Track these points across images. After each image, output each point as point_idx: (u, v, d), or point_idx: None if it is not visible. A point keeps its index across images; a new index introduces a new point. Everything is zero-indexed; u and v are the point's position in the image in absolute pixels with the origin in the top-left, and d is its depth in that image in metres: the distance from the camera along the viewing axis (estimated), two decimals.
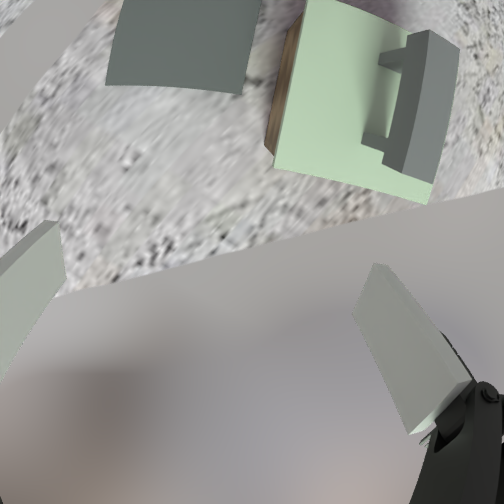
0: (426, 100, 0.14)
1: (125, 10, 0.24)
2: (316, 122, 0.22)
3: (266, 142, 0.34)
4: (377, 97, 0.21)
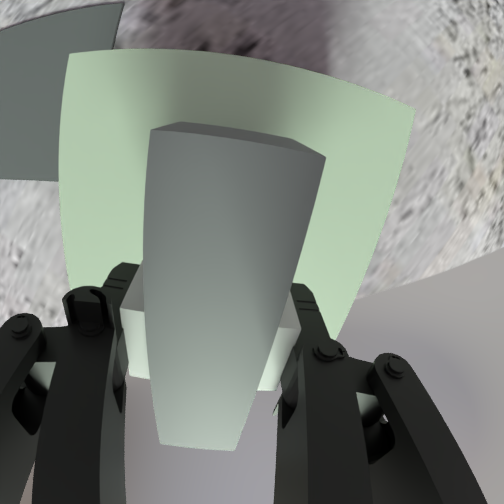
0: (171, 365, 0.07)
1: None
2: None
3: None
4: None
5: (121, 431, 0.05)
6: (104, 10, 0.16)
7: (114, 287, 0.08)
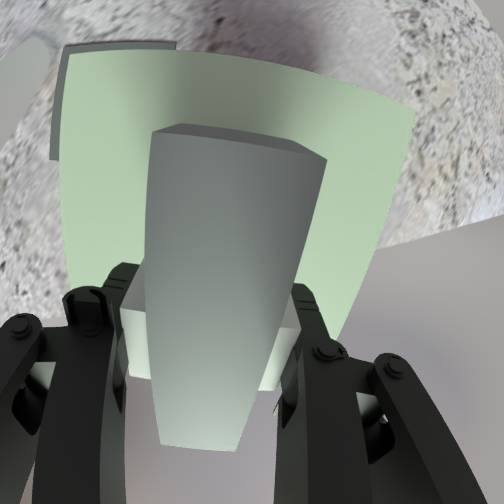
0: (172, 366, 0.07)
1: (58, 89, 0.30)
2: None
3: None
4: None
5: (121, 431, 0.05)
6: (162, 46, 0.30)
7: (114, 287, 0.08)
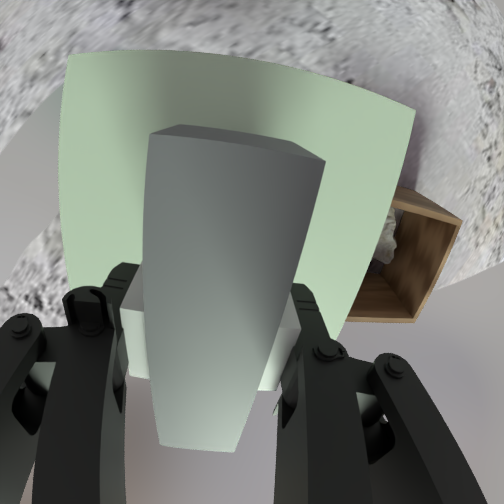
0: (171, 368, 0.07)
1: None
2: None
3: None
4: None
5: (121, 431, 0.05)
6: None
7: (114, 287, 0.08)
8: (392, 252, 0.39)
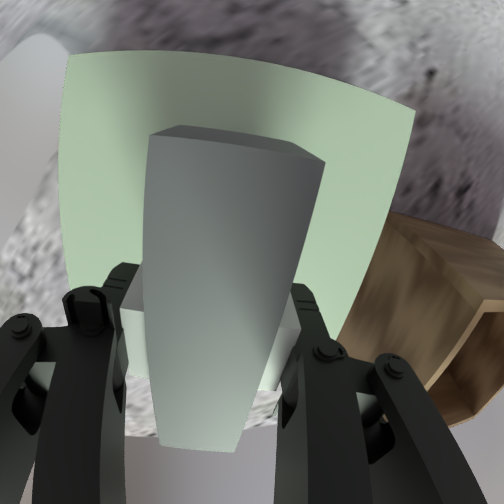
0: (172, 368, 0.07)
1: None
2: None
3: None
4: None
5: (121, 431, 0.05)
6: None
7: (114, 287, 0.08)
8: None
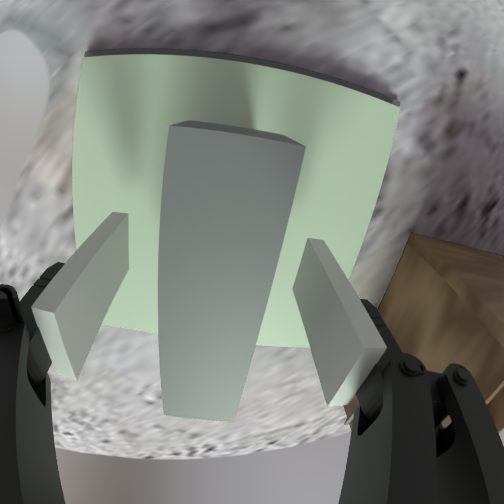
0: (178, 327, 0.08)
1: None
2: None
3: None
4: None
5: (47, 423, 0.05)
6: None
7: (43, 287, 0.07)
8: None
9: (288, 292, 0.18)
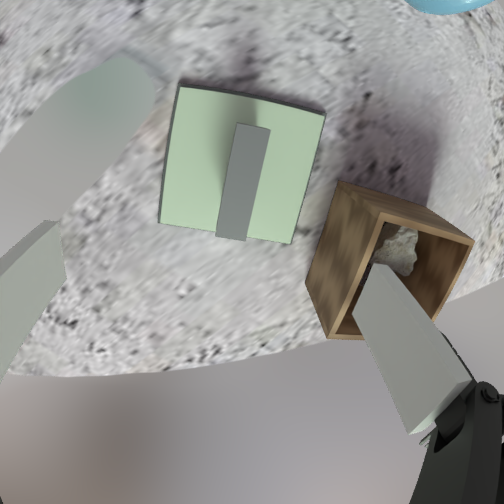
0: (232, 183, 0.26)
1: None
2: (186, 190, 0.34)
3: (308, 287, 0.41)
4: None
5: None
6: None
7: None
8: (412, 265, 0.38)
9: (271, 205, 0.36)
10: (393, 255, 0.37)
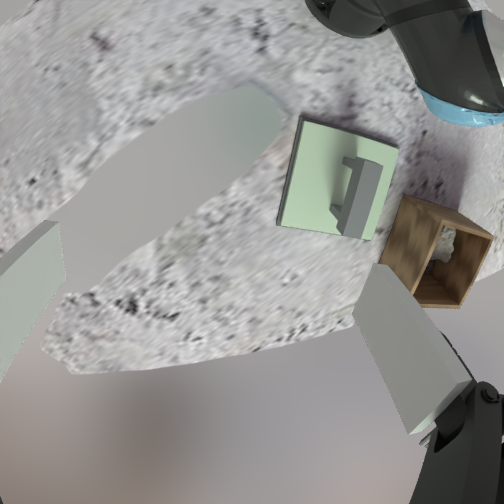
0: (357, 200, 0.37)
1: None
2: (304, 200, 0.45)
3: None
4: (340, 183, 0.44)
5: None
6: None
7: None
8: (450, 254, 0.48)
9: None
10: (439, 247, 0.47)
